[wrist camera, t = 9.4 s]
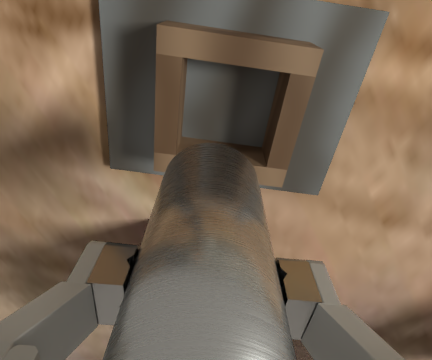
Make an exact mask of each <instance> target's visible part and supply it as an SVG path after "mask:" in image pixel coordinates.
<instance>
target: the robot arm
mask: <svg viewBox="0 0 432 360" xmlns="http://www.w3.org/2000/svg"><path fill="white" fill-rule="evenodd" d="M138 252H139V246H138V245H129V244H120V243H112V242H100V241H92V240H91V241H90V242H89V243H88V244H87V246H86V247H85V249H84V251H83V253H82V254H81V256H80V258H79V260H78V262H77V263H76V265H75V267H74V269H73V271H72V272H71V274H70V276H69V278H68V279H67V281H66V282H62V281H61V282H60V283H58V284H57V285H55V286H53V287H52V288H50V289H49V290H47V291H46V292H44V293H43V294H41V295H40V296H38V297H37V298H35V299H34V300H32V301H31V302H29V303H28V304H26V305H25V306H23V307H22V308H20V309H19V310H17V311H16V312H14V313H13V314H11V315H10V316H8V317H7V318H5V319H3V320H2V321H0V360H65V359H66V358H67V357H68V356H69V355H70V354H71V353H72V352H73V351H74V350H75V349H76V348H77V347H78V346H79V345H80V344H81V343H82V342H83V341H84V340H85V339H86V338H87V336H88V335H89V334H90V333H91V332H92V331H93V330H94V329H95V328H96V327H97V326H98V324H103V325H114V324H115V321H116V318H117V315H118V312H119V309H120V306H121V303H122V300H123V297H124V294H125V291H126V288H127V285H128V282H129V279H130V276H131V273H132V270H133V267H134V264H135V261H136V258H137V255H138ZM275 262H276V267H277V272H278V276H279V281H280V286H281V290H282V295H283V300H284V304H285V309H286V314H287V319H288V323H289V328H290V333H291V337H292V339H296V340H301V342H302V344H303V345H304V347H305V348H306V349H307V351H308V352H309V353H310V355H311V356H312V358H313V359H314V360H405V359H404V358H403V357H402V356H401V355H400V354H399V353H397V352H396V351H395V350H394V349H393V348H392V347H391V346H390V345H389V344H388V343H386V342H385V341H384V340H383V339H382V338H381V337H380V336H379V335H378V334H377V333H376V332H374V331H373V330H372V329H371V328H370V327H369V326H368V325H367V324H366V323H365V322H364V321H362V320H361V319H360V318H359V317H358V316H357V315H356V314H355V313H354V312H353V311H352V310H350V309H349V308H348V307H347V306H346V305H341V303H340V301H339V298H338V296H337V294H336V291H335V289H334V286H333V284H332V281H331V279H330V276H329V274H328V271H327V269H326V267H325V264H324V263H323V262H322V261H312V260H299V259H286V258H276V259H275Z"/></svg>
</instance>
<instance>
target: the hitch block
mask: <svg viewBox="0 0 432 360" xmlns="http://www.w3.org/2000/svg"><path fill="white" fill-rule="evenodd" d="M99 13H100V27H101V41H102V55H103V70H104V84H105V98H106V112H107V127H108V141H109V155H110V168H111V169H119V170H127V171H134V172H142V173H150V174H158V175H164V174H165V171H166V168H167V166H168V164H169V163H170V161H171V160H172V159H173V158H174V157H175V156H176V155H177V154H178V153H179V152H181V151H182V150H184V149H186V148H188V147H190V146H193V145H196V144H201V143H219V144H224V145H227V146H230V147H232V148H234V149H236V150H238V151H240V152H241V153H242V154H243V155H245V156H246V157H247V158H248V159H249V161H250V162H251V163H252V165H253V167H254V169H255V171H256V174H257V178H258V182H259V187H260V188H266V189H273V190H281V191H289V192H296V193H304V194H312V195H318V194H319V191H320V189H321V186H322V184H323V181H324V178H325V176H326V173H327V171H328V168H329V166H330V163H331V161H332V158H333V155H334V153H335V150H336V148H337V145H338V143H339V140H340V138H341V135H342V132H343V130H344V127H345V125H346V122H347V120H348V117H349V115H350V112H351V109H352V107H353V104H354V102H355V99H356V97H357V94H358V92H359V89H360V86H361V84H362V81H363V79H364V76H365V74H366V71H367V68H368V66H369V63H370V61H371V58H372V56H373V53H374V51H375V48H376V45H377V43H378V40H379V38H380V35H381V33H382V30H383V28H384V25H385V22H386V20H387V17H388V15H389V12H386V11H380V10H374V9H367V8H361V7H355V6H348V5H342V4H336V3H329V2H323V1H317V0H99Z"/></svg>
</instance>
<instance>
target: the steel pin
mask: <svg viewBox="0 0 432 360" xmlns="http://www.w3.org/2000/svg"><path fill="white" fill-rule="evenodd" d="M103 360H296V356H295V351H294V347H293V342H292V337H291V333H290V328H289V323H288V319H287V314H286V309H285V304H284V300H283V295H282V290H281V286H280V281H279V276H278V272H277V267H276V262H275V258H274V253H273V248H272V243H271V239H270V234H269V229H268V225H267V220H266V215H265V211H264V206H263V201H262V196H261V192H260V187H259V182H258V178H257V174H256V171H255V169H254V167H253V165H252V163H251V162H250V161H249V159H248V158H247V157H246V156H245V155H243V154H242V153H241V152H240V151H238V150H236V149H234V148H232V147H230V146H227V145H224V144H219V143H201V144H196V145H193V146H190V147H188V148H186V149H184V150H182V151H181V152H179V153H178V154H177V155H176V156H175V157H174V158H173V159H172V160H171V161H170V163H169V164H168V166H167V168H166V171H165V174H164V177H163V180H162V183H161V186H160V189H159V192H158V195H157V198H156V201H155V204H154V207H153V210H152V213H151V216H150V219H149V222H148V225H147V228H146V231H145V234H144V237H143V240H142V243H141V246H140V249H139V252H138V255H137V258H136V261H135V264H134V267H133V270H132V273H131V276H130V279H129V282H128V285H127V288H126V291H125V294H124V297H123V300H122V303H121V306H120V309H119V312H118V315H117V318H116V321H115V324H114V327H113V330H112V333H111V336H110V340H109V343H108V346H107V349H106V352H105V355H104V358H103Z"/></svg>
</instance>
